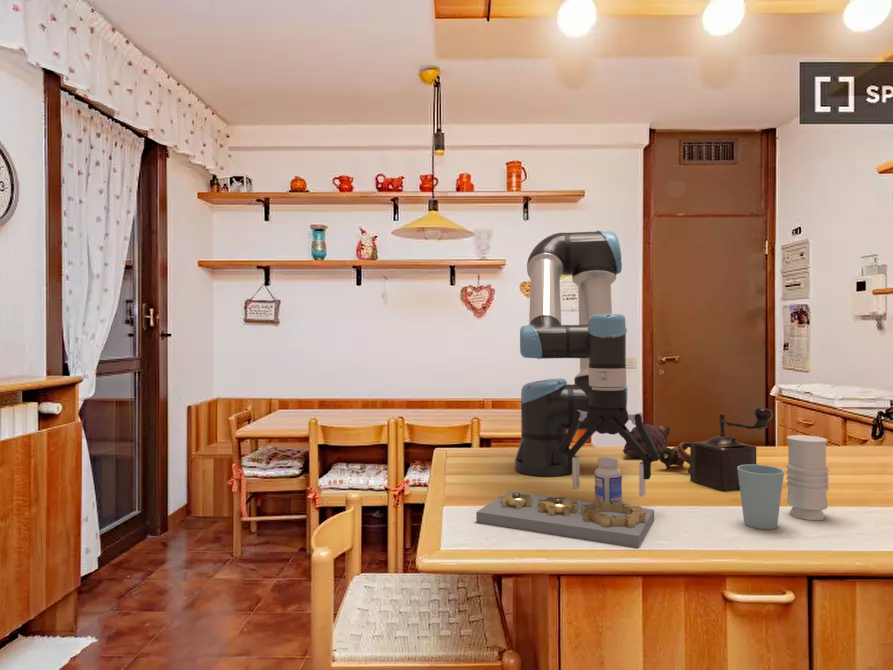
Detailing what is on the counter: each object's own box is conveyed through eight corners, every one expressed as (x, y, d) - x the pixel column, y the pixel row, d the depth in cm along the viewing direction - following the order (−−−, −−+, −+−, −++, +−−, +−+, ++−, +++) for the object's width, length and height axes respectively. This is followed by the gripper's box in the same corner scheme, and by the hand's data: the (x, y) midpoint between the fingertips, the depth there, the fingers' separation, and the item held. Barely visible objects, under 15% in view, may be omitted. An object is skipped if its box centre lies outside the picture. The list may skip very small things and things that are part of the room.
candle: (828, 523, 112) (828, 443, 112) (785, 517, 116) (785, 439, 115) (828, 513, 118) (828, 437, 118) (787, 508, 121) (787, 434, 121)
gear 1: (532, 512, 114) (532, 501, 114) (545, 502, 121) (545, 491, 121) (571, 518, 110) (571, 506, 110) (582, 506, 117) (582, 496, 117)
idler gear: (495, 506, 118) (495, 495, 118) (507, 498, 124) (507, 488, 124) (525, 510, 115) (525, 499, 115) (536, 502, 121) (536, 491, 121)
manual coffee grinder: (724, 492, 133) (724, 411, 133) (688, 481, 143) (688, 405, 143) (777, 485, 138) (777, 407, 138) (739, 474, 149) (738, 402, 149)
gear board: (476, 522, 115) (476, 511, 115) (508, 500, 129) (508, 491, 129) (638, 547, 101) (638, 535, 101) (654, 520, 115) (654, 509, 115)
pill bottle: (622, 502, 126) (622, 456, 126) (621, 510, 121) (621, 462, 121) (596, 500, 128) (595, 455, 128) (593, 507, 123) (593, 460, 123)
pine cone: (642, 463, 161) (622, 430, 165) (623, 474, 170) (605, 442, 173) (687, 440, 169) (667, 409, 172) (667, 451, 177) (648, 421, 181)
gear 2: (572, 522, 108) (572, 514, 108) (589, 504, 119) (589, 497, 118) (640, 531, 103) (640, 523, 103) (651, 512, 113) (651, 505, 113)
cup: (729, 524, 112) (730, 468, 112) (748, 515, 117) (748, 462, 117) (773, 534, 106) (773, 476, 106) (790, 525, 111) (790, 469, 111)
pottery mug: (691, 467, 160) (704, 443, 156) (701, 491, 151) (716, 466, 148) (648, 456, 159) (660, 431, 155) (656, 480, 151) (669, 455, 147)
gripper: (543, 388, 127) (544, 488, 127) (668, 392, 115) (669, 502, 115) (554, 385, 134) (555, 481, 133) (673, 389, 122) (674, 493, 122)
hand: (608, 491), depth 124 cm, fingers open, 13 cm apart
